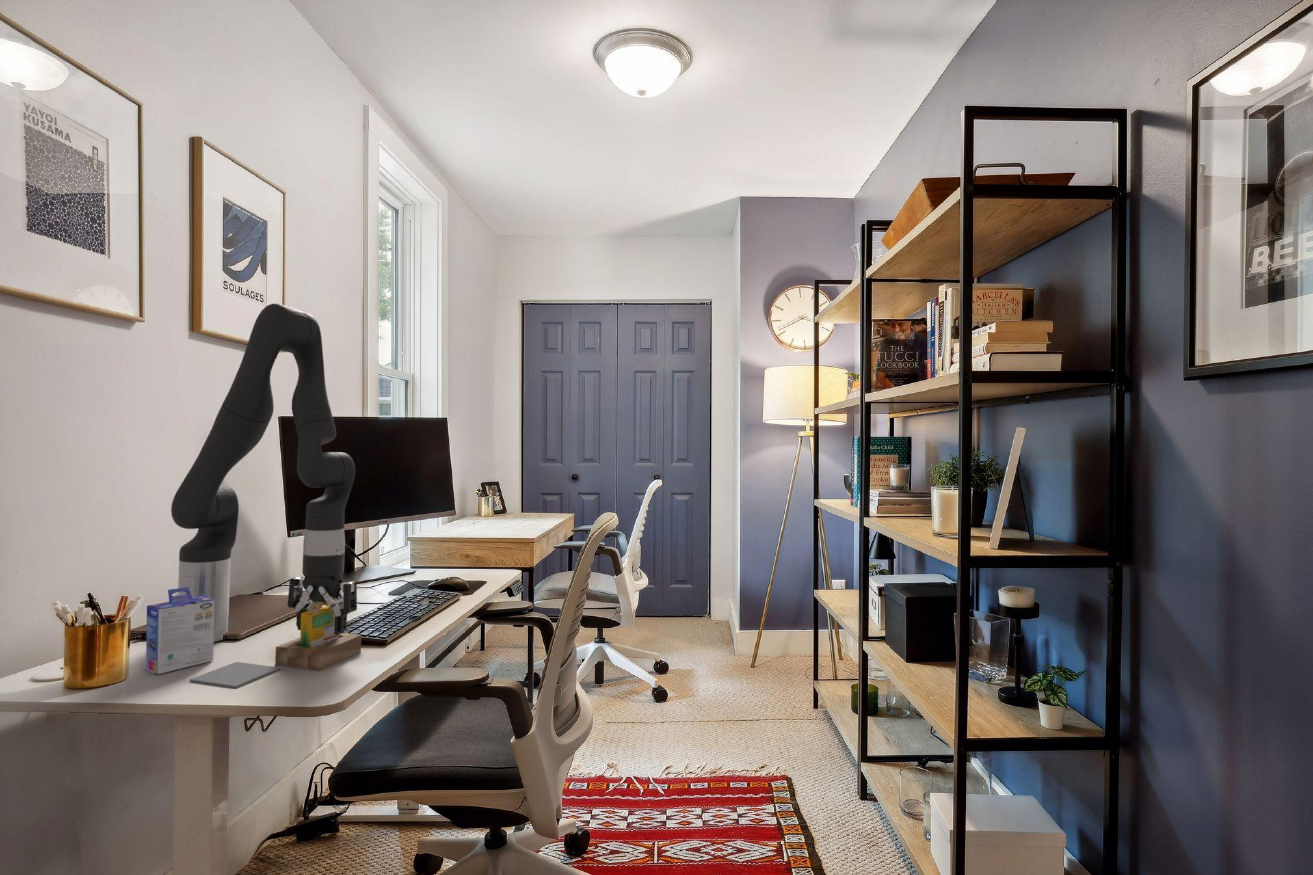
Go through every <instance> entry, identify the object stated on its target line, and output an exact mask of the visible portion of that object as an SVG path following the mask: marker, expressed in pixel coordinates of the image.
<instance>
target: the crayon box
mask: <svg viewBox="0 0 1313 875" xmlns="http://www.w3.org/2000/svg"><path fill="white" fill-rule="evenodd" d="M334 600H337V599H334ZM325 604H327V603H324V602H322V603H318V604H315V605H312V611H308V612H304V613H301V630H300V637H299V638H300V646H302V647H310V648H316V647H318V646H321V645H323V644H326V643H328V642H330V641H333V640H335V639H338V638H339V635H336V634H334V627H335V616H337V615H336V614H335V612H334V610H333V609H332V608H331V607H329V606H326V605H325ZM321 606H322V608H320V607H321Z"/></svg>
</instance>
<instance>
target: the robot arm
mask: <svg viewBox="0 0 1313 875" xmlns="http://www.w3.org/2000/svg"><path fill="white" fill-rule="evenodd" d="M281 351H282V352H285V353H290V354H292V355H293V357H294V358H293V359H294V360H295V362H296V365H297V368H298V369H297V370H298V377H297V382H296V386H295V388H294V391H293V394H292V398H291V413H292V417H293V419H294V420H293V421H294V424H295V429H296V434H297V437H298V438H297V440H298V441H297V442H298V444H297V458H296V459H297V461H296V472H297V475H298V478H299V480H300V481H301V483H302V484H304V485H305V486H306V487H308V488H313V489H314V488H315V489H316V488H325V490H324V493H323V494H322V496H319V497H317V498H315V499H312V500H309V502H308V503H307V504H306V507H305V526H304V527H305V531H304V535H303V536H304V537H303V544H302V546H303V548H302V569H301V570H302V571H301V572H302V575H303V576H304V577H303V576H297V577H292V578H290V579H289V584H288V594H287V595H288V596H287V607H288V608H289V609H291V608H292V609H294V610H295V612H296V621H295V623H296V624H295V625H296V628H297V631H301V613H304V612H308V611H309V610H307V609H308V608H309V606H310V605H311V604H312V602H318V601H319V602H324V603H327V604H328V605H329V607H331V608H332V609H333V610H334V612H335V614H336V615H337V616H335V627H334V634H336V635H339V634H342V633H345V631H346V630H347V626H348V625H347V624H348V615H349V614H350V613H353V612H356V611H357V610H358V598H357V597H358V596H357V595H358V592H357V590H358V589H357V588H358V587H357V582H356V581H354V580H353V581H350V582H348V581H347V582H344V580H343V578H342V576H343V574H344V572H345V553H346V552H345V551H346V548H345V547H346V536H345V516H346V515H345V514H346V513H345V509H346V506H347V503H348V500H349V496H350V493H351V491H352V487H353V485H354V480H355V477H356V476H355V475H356V466H355V462H354V460H353V458H352V457H351V455H350V454H348V453H346V452H341V451H338V452H337V451H335V452H334V451H323V450H322V445H326V444H328V443H330V442H332V441H334V439H336V436H337V429H336V428H337V427H336V424H335V421H334V416H333V413H332V409H331V406H330V403H329V398H328V393H327V386H326V379H325V378H326V376H325V362H324V352H323V351H324V350H323V341H322V333H321V327H320V324H319V322H318V320H317V319H316V318H315V316H313V315H312V314H311V313H308V312H306V311H303V310H299V309H296V308H294V307H290V306H289V305H284V304H280V303H270V304H268V305H266V306H264V308H263V309H262V310H261V311H260V312H259V314H258V316H257V317H256V319H255V322H254V323H253V327H252V329H251V332H250V335H249V338H248V341H247V344H246V348H245V351H244V353H243V356H242V360H241V362H240V365H239V368H238V369H237V372H236V374H235V377H234V379H233V380H232V381H233V382H232V384H231V385H230V388H229V390H228V392H227V395H226V397H225V398H224V400H223V402H222V404H221V406H220V408H219V411H218V413H217V414H216V417H215V420H214V422H213V425H212V427H211V430H210V431H209V433H208V436H207V437H206V439H205V442H204V443H203V445H202V447H201V450H200V451H199V453H198V456H197V457H196V459H195V461H194V462H193V464H192V466H191V468H190V469H189V471H188V472H187V474H186V476H185V477H184V479H183V481H182V482H181V484H180V485H179V486H178V489H177V490H176V492H175V493H174V496H173V499H172V503H171V508H170V512H171V518H172V520H173V522H174V524H176V526H178V527H180V528H182V529H184V530H197V532H196V534H195V535H194V537H193V538H192V539H191V540H189V541H188V542H186V543H185V544H183V545H182V546H181V547H180V549H179V553H178V557H179V558H178V561H179V562H178V580H177V582H178V583H177V584H178V585H177V589H178V588H185V587H189V590H190V594H191V596H192V597H198V596H206V597H209V598H212V599H215V612H214V643H215V642H219V641H223V640H224V639H223V634H225V633H226V632H229V610H230V609H229V608H230V591H231V590H230V586H231V585H230V584H231V565H232V564H231V560H232V559H231V558H232V550H233V548H234V546H235V544H236V541H237V540H236V539H237V531H238V530H237V529H238V521H239V506H240V504H239V499H238V495H237V493H236V491H235V490H234V489H233V487H231V486H230V485H228V484H225V483H223V481H224V479H225V478H226V476H227V475H228V474H229V472H230V471H231V470H232V469H233V468H234V467H235V466H236V465H237V464H238V463H239V462H240V461H241V460H242V459H243V458H244V457H246V456H247V455H248V454H249V453H250V452H251V451H252V450H253V449H254V448H255V447H256V446H257V445H258V444H259V442H260V441H261V440H262V438H263V436H264V435H265V432H266V430H267V428H268V426H269V423H270V422H271V419H272V417H273V414H274V408H275V407H274V406H275V405H274V397H273V391H272V390H273V389H272V384H271V374H272V369H273V367H274V364H275V361H276V359H277V357H278V355H279V354H280V352H281ZM303 589H304V590H303ZM302 591H305V593H304V594H303V596H302ZM186 594H187V593H186V592H177V593H176V594H175V595H173V597H176V596H182V595H186ZM335 598H337V600H334V599H335Z"/></svg>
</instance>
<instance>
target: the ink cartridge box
mask: <svg viewBox="0 0 1313 875" xmlns="http://www.w3.org/2000/svg"><path fill="white" fill-rule="evenodd" d="M178 592H186V593H187V594H186V595H182V596H176V597H174V594H177V593H178ZM167 596H168V601H166V602H160V603H155V604H154V603H153V604H149V605H147V606H146V640H145V641H146V642H145V643H146V646H145V647H146V649H145V650H146V652H145V671H148V672H149V673H152V674H154V675H161V674H165V673H168V672H172V671H176V670H181V669H184V668H188V667H193V666H197V665H201V664H202V665H203V664H204V663H205V664H206V663H209V662H213V661H214V647H215V646H214V643H215V642H214V612H215V599H212V598H209V597H206V596H198V597H192V596H191V594H190V590H189V587H185V588H178V587H177V588H173V589H167Z"/></svg>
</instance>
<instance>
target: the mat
mask: <svg viewBox="0 0 1313 875" xmlns="http://www.w3.org/2000/svg"><path fill="white" fill-rule="evenodd" d="M280 670H281V667H278V666H271V665H265V664H257V663H248V662H241V661H236V662H232V663H229V664H227V665H223V666H221V667H219V668H216V669H214V670H211V671H209V672H206V673H202V674H200V675H197V676H195V677H192V678H189V682H190V683H198V684H203V685H204V684H205V685H211V686H217V687H218V686H219V687H223V688H224V687H225V688H233V689H238V688H241V687H242V686H243V687H244V686H245V685H247V684H249V683H252V682H255V681H257V680H260V679H261V678H264V677H266V676H269V675H271V674H274V673H276V672H277V671H280Z"/></svg>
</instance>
